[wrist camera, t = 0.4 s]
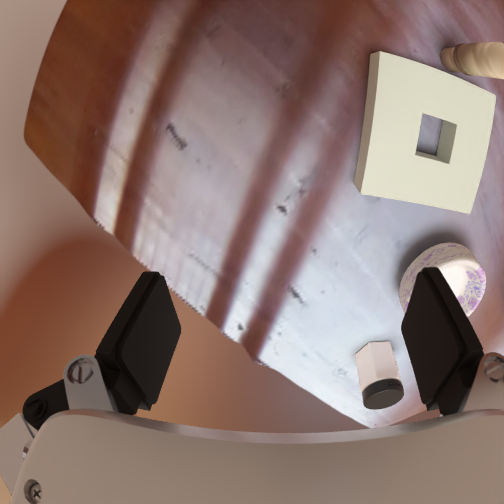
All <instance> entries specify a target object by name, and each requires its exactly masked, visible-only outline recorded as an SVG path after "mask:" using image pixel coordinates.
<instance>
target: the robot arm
mask: <svg viewBox="0 0 504 504" xmlns="http://www.w3.org/2000/svg"><path fill="white" fill-rule="evenodd" d="M401 331H402V335H403V338H404V341H405V344H406V347H407V350H408V354H409V357H410V360H411V364H412V367H413V370H414V374H415V378H416V381H417V385H418V389H419V393H420V397H421V400H422V403H423V404H426V407H427V411H430V410H435V409H439V410H440V414H441V415H440V417H437V418H433V419H428V420H423V421H418V422H412V423H407V424H400V425H394V426H388V427H380V428H373V429H364V430H354V431H342V432H326V433H255V432H240V431H228V430H217V429H208V428H201V427H193V426H186V425H180V424H174V423H168V422H162V421H157V420H152V419H146V418H141V417H137V415H136V413H137V410H138V408H139V409H143V410H148V411H150V409H151V406H152V404H155V403H156V402H157V399H158V396H159V394H160V390H161V387H162V385H163V382H164V379H165V376H166V373H167V370H168V367H169V365H170V362H171V359H172V356H173V353H174V351H175V348H176V345H177V342H178V340H179V337H180V334H181V326H180V323H179V319H178V317H177V314H176V311H175V308H174V305H173V302H172V299H171V296H170V293H169V290H168V287H167V283H166V280H165V278H164V276H162V275H160V273H159V272H146V271H145V272H143V273H142V274H141V276H140V278H139V279H138V281H137V282H136V284H135V285H134V287H133V289H132V290H131V292H130V294H129V295H128V297H127V298H126V300H125V302H124V303H123V305H122V307H121V308H120V310H119V312H118V313H117V315H116V317H115V318H114V320H113V322H112V323H111V325H110V327H109V329H108V330H107V332H106V334H105V336H104V337H103V339H102V341H101V343H100V345H99V346H98V348H97V350H96V354H95V356H94V357H93V356H90V355H81V356H77V357H75V358H74V359H72V360H71V361H70V362H69V363H68V365H67V366H66V368H65V370H64V379H62V380H60V381H58V382H56V383H54V384H53V385H50V386H49V387H46V388H44V389H42V390H40V391H38V392H36V393H34V394H32V395H31V396H29V397H28V399H27V400H26V402H25V403H24V406H23V414H20V413H18V414H17V415H16V416H15V417H13V418H12V419H11V420H10V421H9V422H8V423H7V424H5V425H4V426H3V427H2V428H1V429H0V474H1V476H2V479H3V481H4V482H5V484H6V486H7V488H8V490H9V492H10V494H11V496H12V498H11V501H10V504H504V356H503V355H501V354H499V353H496V352H490V353H487V354H485V355H484V353H483V351H482V350H483V348H482V345H481V343H480V341H479V339H478V337H477V335H476V333H475V331H474V329H473V327H472V325H471V323H470V321H469V319H468V318H467V316H466V314H465V312H464V310H463V308H462V307H461V305H460V303H459V301H458V299H457V298H456V296H455V294H454V293H453V291H452V289H451V287H450V286H449V284H448V282H447V281H446V279H445V278H444V276H443V274H442V273H441V271H440V270H439V268H438V267H424V268H423V269H422V270H421V271H420V272H418V274H417V277H416V280H415V284H414V287H413V290H412V294H411V297H410V300H409V303H408V306H407V310H406V313H405V315H404V318H403V321H402V325H401Z"/></svg>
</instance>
